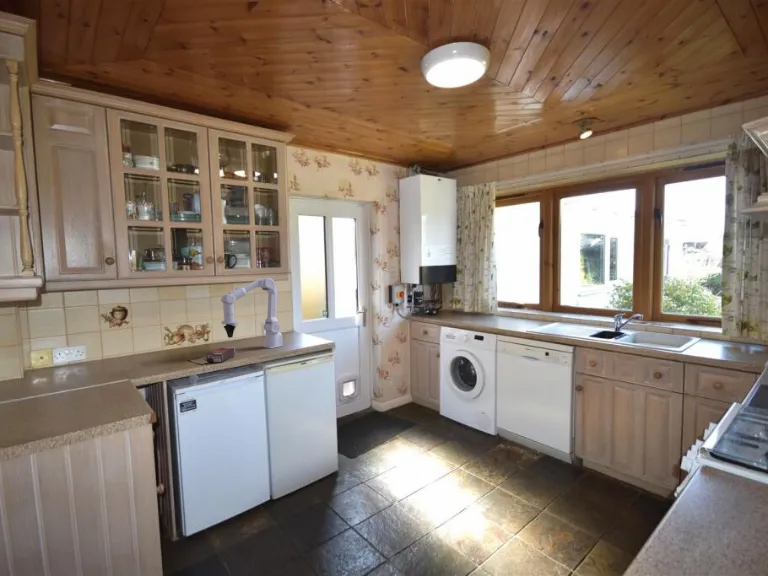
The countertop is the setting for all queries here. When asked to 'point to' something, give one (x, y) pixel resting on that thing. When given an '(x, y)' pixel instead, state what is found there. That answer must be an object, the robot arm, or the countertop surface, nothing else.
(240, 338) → the countertop surface
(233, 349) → the supplement box
